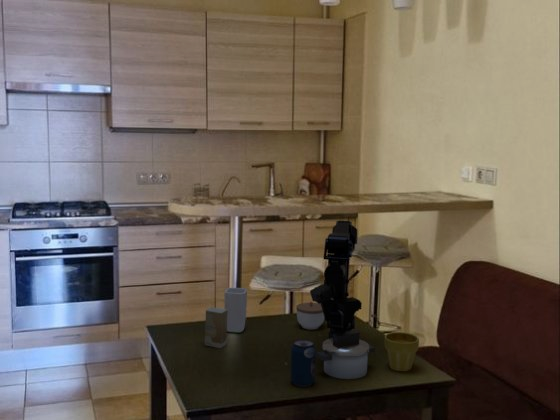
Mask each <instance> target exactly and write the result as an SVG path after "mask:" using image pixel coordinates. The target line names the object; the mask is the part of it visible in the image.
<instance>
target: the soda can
mask: <svg viewBox="0 0 560 420" xmlns="http://www.w3.org/2000/svg"><path fill="white" fill-rule="evenodd" d="M290 350H291V352H290V380H291V382H292V384H293V385H295V386H297V387H309V386H311V385H312V384H313V383H314V382H315V379H316V375H315V374H316V347H315V343H314V341H312V340H310V339H305V338H304V339H302V338H301V339H296V340H294V341H293V345H292V346H291V349H290Z"/></svg>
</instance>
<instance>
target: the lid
mask: <svg viewBox="0 0 560 420" xmlns="http://www.w3.org/2000/svg"><path fill="white" fill-rule="evenodd" d="M360 333H361V332H359V331H357V330H356V329H355V330H354V329H353V330H350V331H348V332H341V333H335V334H333V338H330V339H329V338H327V339H326V340H324V341H323V342H322V350H323V351H326V352H327V353H330V354H332V355H336V356H343V357H356V356H362V355H365V354H367V353H368V352H369V345H370V344H369V343H368V342H367V341H365V340H363V339H360V338H361V337H360V335H361V334H360ZM368 354H369V353H368Z"/></svg>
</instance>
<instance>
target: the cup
mask: <svg viewBox="0 0 560 420" xmlns="http://www.w3.org/2000/svg"><path fill="white" fill-rule="evenodd" d="M247 302H248V289H247V288H244V287H243V288H242V287H227V289H225V291H224V301H223V303H224V309H225V310H228V312H227V332H228V333H232V334H233V333H235V334H240V333H243V331H244V329H245V325H246V318H247V306H248V304H247Z"/></svg>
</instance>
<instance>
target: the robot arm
mask: <svg viewBox="0 0 560 420" xmlns="http://www.w3.org/2000/svg"><path fill="white" fill-rule="evenodd" d="M331 230H332V232H331V233H329V234H328V235H327V237H326V238H325V241H324V250H323V258H322V259H323V260H327V265H326V267H325V269H324V272H323V277H324V279H323V283H322V284H320V285H318V286H315V287H314V288H312V289H311V290H310V291H309V293H310V296H311V300H312V301H313V302H314V303H318V304H321V307H322V310H323V314H324V321H325V322H327V323H326V327H327V328H326V329H329V332H328V339H330V338H333V334H335V333H341V332H348V331H353V330H354V329H355V328H356V327H355V326H356V319H355V314H356V313H357V312H359V310H362V305H363V303H362V301H361V300H360V299H358V298H356V297H354V296H353V297H349V296H350V295H349V293H350V292H349V284H350V277H349V276H350V261H351V260H350V259H351V258H352V256H353V253H354V251H355V250H356V245H357V244H358V236H359V235H358V228H356V227H355V226H354V225H353V224H352V221H350V220H341V219H340V220H336V221H335V225H334V226H333V227H332V229H331ZM355 330H356V329H355Z"/></svg>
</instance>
